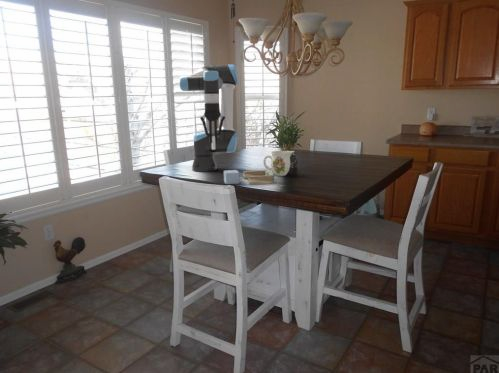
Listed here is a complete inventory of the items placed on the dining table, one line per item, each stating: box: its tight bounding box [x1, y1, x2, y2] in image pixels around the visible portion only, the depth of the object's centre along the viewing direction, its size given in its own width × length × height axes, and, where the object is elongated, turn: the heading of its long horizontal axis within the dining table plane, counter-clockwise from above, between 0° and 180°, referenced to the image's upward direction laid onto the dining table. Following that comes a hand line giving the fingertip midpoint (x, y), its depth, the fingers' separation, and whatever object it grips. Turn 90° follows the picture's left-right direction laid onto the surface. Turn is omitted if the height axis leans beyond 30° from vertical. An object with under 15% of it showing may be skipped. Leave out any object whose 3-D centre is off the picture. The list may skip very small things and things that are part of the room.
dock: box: [242, 169, 275, 185], centre depth 214 cm, size 15×14×4 cm
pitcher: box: [263, 150, 295, 177], centre depth 228 cm, size 11×18×14 cm, turn 76°
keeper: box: [223, 169, 240, 185], centre depth 211 cm, size 7×7×6 cm
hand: (213, 149), depth 206 cm, fingers closed
